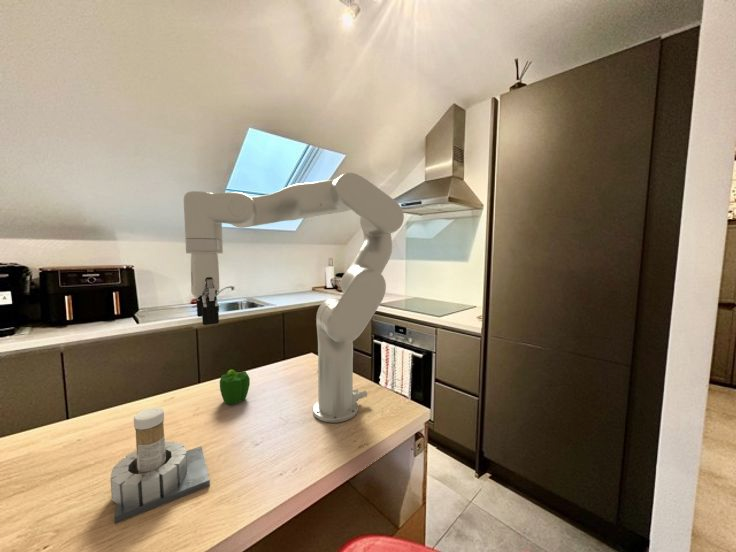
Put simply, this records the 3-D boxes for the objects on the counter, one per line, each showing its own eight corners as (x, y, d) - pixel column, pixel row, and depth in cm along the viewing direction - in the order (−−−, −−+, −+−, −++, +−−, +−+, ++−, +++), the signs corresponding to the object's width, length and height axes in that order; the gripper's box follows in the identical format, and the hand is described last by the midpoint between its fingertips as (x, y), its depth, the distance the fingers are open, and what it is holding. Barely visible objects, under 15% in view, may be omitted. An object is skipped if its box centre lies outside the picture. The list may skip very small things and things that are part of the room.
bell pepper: (238, 391, 96) (237, 360, 95) (255, 398, 92) (254, 366, 91) (212, 402, 89) (211, 369, 88) (230, 410, 85) (229, 376, 84)
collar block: (201, 451, 68) (200, 429, 67) (209, 485, 58) (208, 460, 57) (116, 479, 59) (114, 454, 59) (109, 525, 49) (107, 496, 49)
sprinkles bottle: (146, 472, 59) (142, 407, 58) (171, 470, 60) (168, 405, 59) (132, 491, 55) (127, 420, 54) (159, 488, 56) (155, 418, 54)
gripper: (182, 246, 75) (185, 315, 77) (189, 247, 61) (193, 330, 62) (216, 247, 79) (218, 311, 81) (229, 247, 65) (232, 325, 67)
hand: (207, 319), depth 72 cm, fingers open, 9 cm apart
